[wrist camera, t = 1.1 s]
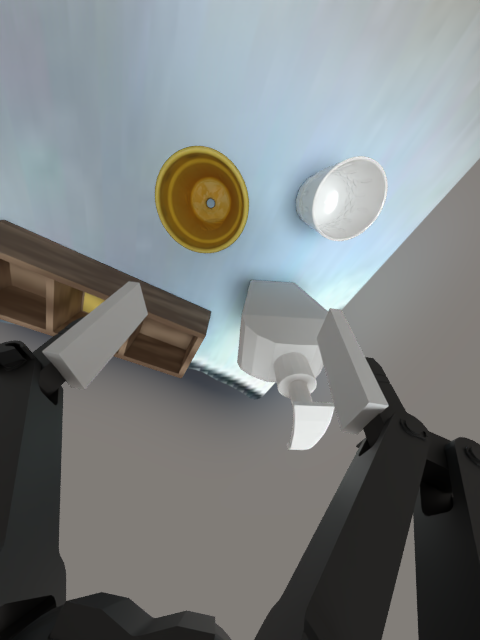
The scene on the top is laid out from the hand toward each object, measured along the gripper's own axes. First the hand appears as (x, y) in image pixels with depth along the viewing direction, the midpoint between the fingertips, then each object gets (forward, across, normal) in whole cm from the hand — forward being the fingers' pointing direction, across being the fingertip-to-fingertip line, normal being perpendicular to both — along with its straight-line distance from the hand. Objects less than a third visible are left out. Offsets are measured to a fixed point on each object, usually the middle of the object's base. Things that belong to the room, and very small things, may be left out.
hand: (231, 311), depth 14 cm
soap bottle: (+23, +5, -13) cm, 26 cm away
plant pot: (+23, -7, +3) cm, 24 cm away
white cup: (+25, +9, +5) cm, 27 cm away
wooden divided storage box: (+18, -25, -14) cm, 35 cm away
